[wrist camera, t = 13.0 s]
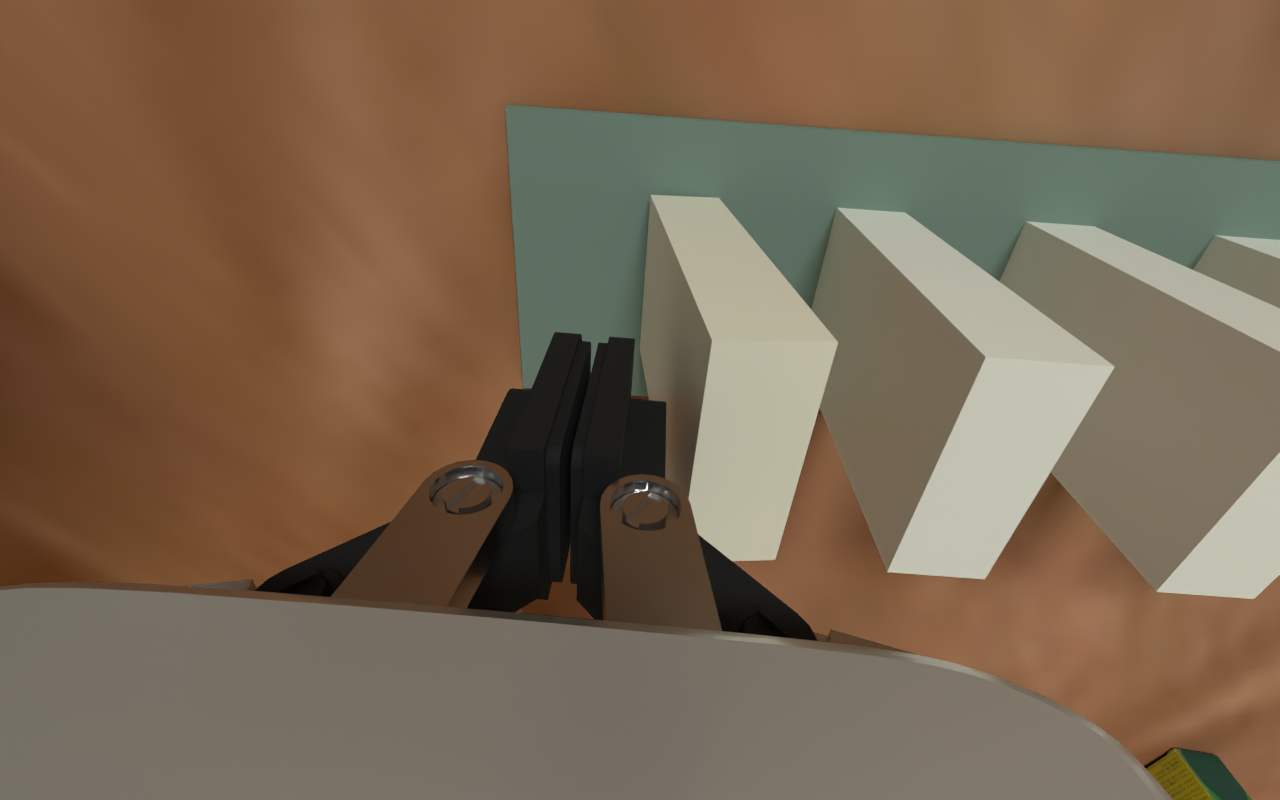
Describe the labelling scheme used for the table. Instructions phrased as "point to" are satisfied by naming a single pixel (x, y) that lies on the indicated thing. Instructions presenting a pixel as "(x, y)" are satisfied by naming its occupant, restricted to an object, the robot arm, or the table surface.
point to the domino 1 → (729, 372)
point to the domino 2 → (941, 393)
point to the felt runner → (826, 202)
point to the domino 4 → (1244, 265)
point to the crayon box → (1196, 777)
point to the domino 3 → (1167, 408)
